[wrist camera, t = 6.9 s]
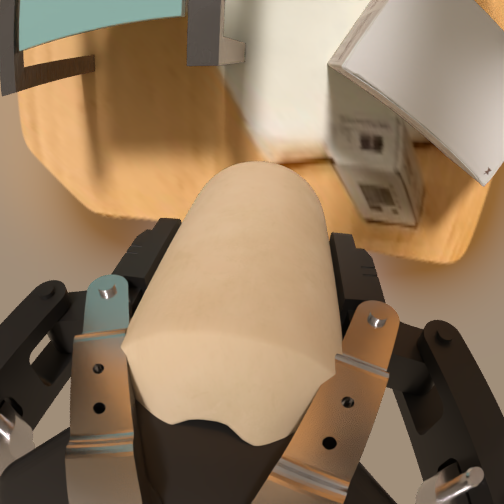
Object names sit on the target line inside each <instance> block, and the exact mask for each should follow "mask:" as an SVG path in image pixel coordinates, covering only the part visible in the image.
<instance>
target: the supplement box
mask: <svg viewBox="0 0 504 504" xmlns="http://www.w3.org/2000/svg"><path fill="white" fill-rule="evenodd" d="M327 64H328V65H329V66H330V67H331V68H333V69H334V70H336V71H338V72H339V73H341V74H342V75H344V76H345V77H347V78H348V79H350V80H351V81H353V82H354V83H356V84H357V85H358V86H360V87H361V88H363V89H364V90H366V91H367V92H368V93H370V94H371V95H373V96H374V97H375V98H377V99H378V100H380V101H381V102H382V103H384V104H385V105H386V106H388V107H389V108H390V109H392V110H393V111H394V112H395V113H397V114H398V115H399V116H400V117H402V118H403V119H404V120H405V121H407V122H408V123H409V124H410V125H412V126H413V127H414V128H415V129H416V130H418V131H419V132H420V133H421V134H422V135H423V136H425V137H426V138H427V139H428V140H429V141H430V142H431V143H433V144H434V145H435V146H436V147H437V148H438V149H439V150H440V151H441V152H442V153H443V154H445V155H446V156H447V157H448V158H449V159H451V160H452V161H453V162H454V163H456V164H457V165H458V166H459V167H461V168H462V169H463V170H464V171H466V172H467V173H468V174H469V175H470V176H472V177H473V178H474V179H475V180H476V181H477V182H479V183H480V184H481V185H482V186H485V185H486V184H487V183H488V182H489V181H490V179H491V178H492V177H493V175H494V174H495V173H496V171H497V170H498V168H499V167H500V166H501V164H502V163H503V161H504V31H503V30H502V29H501V28H500V27H499V26H498V24H497V23H496V22H495V21H494V20H493V19H492V18H491V17H490V16H489V15H488V14H487V13H486V12H485V11H484V10H483V9H482V8H481V7H480V6H479V5H478V4H477V3H476V2H475V1H474V0H371V1H370V2H369V4H368V5H367V7H366V8H365V10H364V11H363V12H362V14H361V15H360V17H359V18H358V20H357V21H356V22H355V24H354V25H353V27H352V28H351V30H350V31H349V33H348V34H347V36H346V37H345V38H344V40H343V41H342V43H341V44H340V46H339V47H338V49H337V50H336V52H335V53H334V55H333V56H332V57H331V59H330V60H329V61H328V63H327Z"/></svg>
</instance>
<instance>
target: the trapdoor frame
mask: <svg viewBox="0 0 504 504" xmlns="http://www.w3.org/2000/svg"><path fill="white" fill-rule="evenodd" d="M224 9H225V0H189V5H188V32H187V66H219V65H226V64H233V63H240V62H245V47H246V43H243V42H240V41H237V40H234V39H230V38H227V37H224V36H223V32H224ZM19 17H20V0H0V80H1V92H2V96H5V95H8V94H11V93H15V92H19V91H22V90H25V89H28V88H31V87H34V86H38V85H41V84H45V83H48V82H52V81H56V80H59V79H63V78H67V77H71V76H76V75H80V74H85V73H89V72H94V71H95V63H94V55H91V56H84V57H76V58H70V59H64V60H58V61H52V62H47V63H42V64H37V65H33V66H28V67H24V60H23V51H19Z"/></svg>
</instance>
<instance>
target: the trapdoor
mask: <svg viewBox="0 0 504 504" xmlns="http://www.w3.org/2000/svg"><path fill="white" fill-rule="evenodd" d="M185 4H186V0H20V17H19V51H23V50H27V49H30V48H33V47H36V46H39V45H42V44H45V43H48V42H52V41H55V40H58V39H62V38H65V37H69V36H73V35H77V34H81V33H85V32H89V31H93V30H98V29H102V28H107V27H112V26H117V25H123V24H129V23H135V22H142V21H149V20H157V19H166V18H176V17H185Z"/></svg>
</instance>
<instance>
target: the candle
mask: <svg viewBox="0 0 504 504" xmlns="http://www.w3.org/2000/svg"><path fill="white" fill-rule="evenodd" d="M342 341H343V338H342V329H341V321H340V313H339V305H338V297H337V290H336V283H335V276H334V270H333V263H332V257H331V251H330V244H329V238H328V233H327V227H326V221H325V217H324V212H323V209H322V206H321V203H320V201H319V199H318V197H317V195H316V193H315V192H314V190H313V189H312V187H311V186H310V185H309V184H308V183H307V182H306V180H305V179H303V178H302V177H301V176H300V175H299V174H297V173H295V172H294V171H292V170H291V169H289V168H286V167H284V166H282V165H279V164H275V163H271V162H265V161H249V162H243V163H238V164H235V165H232V166H230V167H228V168H226V169H224V170H222V171H220V172H219V173H218V174H216V175H215V176H214V177H212V178H211V179H210V180H209V181H208V182H207V183H206V185H205V186H204V187H203V188H202V190H201V191H200V193H199V194H198V196H197V198H196V199H195V201H194V203H193V204H192V206H191V208H190V210H189V211H188V213H187V215H186V217H185V218H184V220H183V222H182V224H181V226H180V227H179V229H178V231H177V233H176V235H175V236H174V238H173V240H172V242H171V244H170V245H169V247H168V249H167V251H166V253H165V255H164V257H163V258H162V260H161V262H160V264H159V266H158V268H157V270H156V272H155V274H154V276H153V277H152V279H151V281H150V283H149V285H148V287H147V289H146V291H145V293H144V295H143V297H142V299H141V301H140V303H139V305H138V307H137V309H136V311H135V313H134V315H133V317H132V319H131V321H130V323H129V325H128V327H127V332H126V336H125V338H124V340H123V342H122V345H121V349H122V350H123V352H124V353H125V354H126V357H127V362H128V367H129V372H130V376H131V381H132V385H133V389H134V394H135V399H136V400H137V401H139V402H140V403H141V404H142V405H143V406H144V407H145V408H146V409H147V410H148V411H150V412H151V413H152V414H153V415H154V416H156V417H157V418H159V419H160V420H162V421H164V422H166V423H168V424H172V425H173V424H177V423H180V422H183V421H187V420H196V419H199V420H209V421H216V422H220V423H223V424H225V425H227V426H229V427H230V428H231V429H232V430H233V431H234V432H235V433H236V434H237V435H238V436H239V437H240V438H241V439H242V440H244V441H246V442H247V443H249V444H251V445H253V446H261V445H266V444H269V443H272V442H275V441H277V440H280V439H283V438H285V437H287V436H288V435H290V434H292V433H294V432H295V431H297V429H298V427H299V425H300V423H301V422H302V420H303V418H304V416H305V414H306V412H307V410H308V409H309V407H310V405H311V403H312V401H313V399H314V397H315V395H316V393H317V391H318V389H319V387H320V385H321V384H323V383H324V382H326V381H327V380H328V379H330V378H331V377H332V376H334V375H335V374H336V372H335V355H336V354H341V355H343V352H342Z"/></svg>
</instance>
